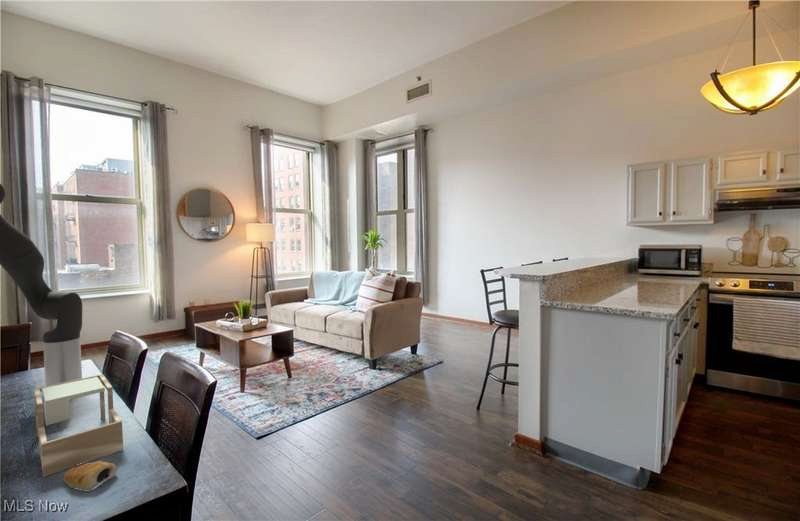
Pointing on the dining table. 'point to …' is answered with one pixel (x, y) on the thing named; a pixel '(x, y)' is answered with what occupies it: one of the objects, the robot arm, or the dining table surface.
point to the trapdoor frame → (79, 436)
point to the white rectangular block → (57, 412)
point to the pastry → (89, 475)
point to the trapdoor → (72, 390)
